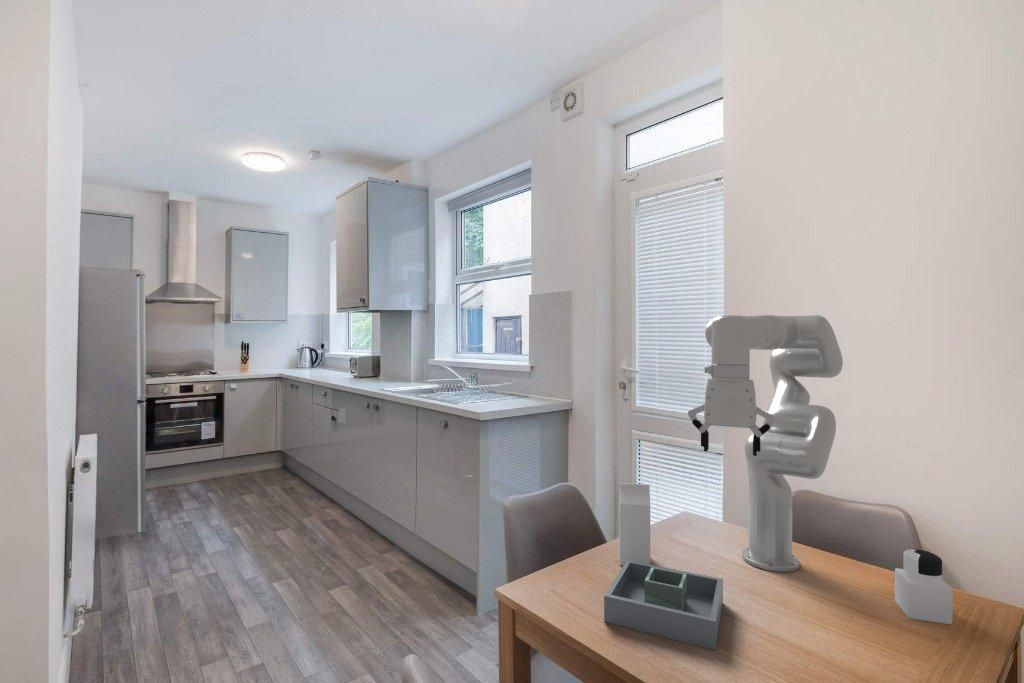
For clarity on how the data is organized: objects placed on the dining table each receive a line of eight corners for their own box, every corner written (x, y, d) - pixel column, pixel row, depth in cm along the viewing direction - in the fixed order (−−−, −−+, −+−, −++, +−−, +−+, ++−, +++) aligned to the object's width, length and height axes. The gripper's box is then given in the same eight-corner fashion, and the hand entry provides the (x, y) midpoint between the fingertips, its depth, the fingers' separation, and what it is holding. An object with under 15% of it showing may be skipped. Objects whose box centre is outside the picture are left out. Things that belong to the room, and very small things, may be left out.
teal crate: (651, 595, 106) (651, 566, 106) (686, 603, 102) (686, 573, 103) (644, 611, 99) (644, 580, 99) (681, 620, 96) (681, 588, 96)
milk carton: (650, 568, 120) (650, 488, 121) (619, 565, 122) (620, 487, 122) (648, 556, 127) (648, 480, 127) (619, 553, 129) (619, 479, 129)
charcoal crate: (626, 582, 113) (626, 560, 113) (722, 603, 105) (723, 578, 105) (604, 621, 97) (604, 595, 97) (715, 650, 88) (715, 621, 88)
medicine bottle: (935, 607, 103) (935, 548, 103) (953, 625, 97) (953, 562, 97) (894, 601, 106) (894, 544, 106) (908, 618, 99) (908, 557, 99)
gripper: (685, 372, 109) (685, 451, 109) (776, 375, 101) (775, 460, 101) (690, 371, 116) (690, 445, 116) (775, 373, 108) (775, 453, 108)
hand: (730, 452), depth 109 cm, fingers open, 9 cm apart
